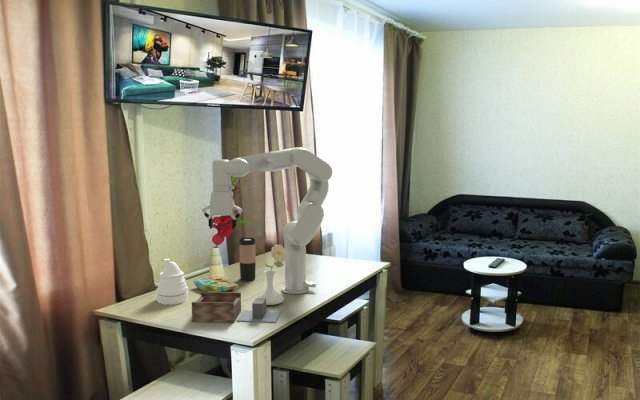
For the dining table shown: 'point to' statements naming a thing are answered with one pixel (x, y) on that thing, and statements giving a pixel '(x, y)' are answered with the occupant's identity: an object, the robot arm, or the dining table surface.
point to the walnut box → (217, 307)
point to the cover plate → (269, 315)
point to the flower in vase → (270, 292)
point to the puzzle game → (215, 284)
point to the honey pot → (172, 285)
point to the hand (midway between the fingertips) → (222, 228)
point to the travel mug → (247, 259)
